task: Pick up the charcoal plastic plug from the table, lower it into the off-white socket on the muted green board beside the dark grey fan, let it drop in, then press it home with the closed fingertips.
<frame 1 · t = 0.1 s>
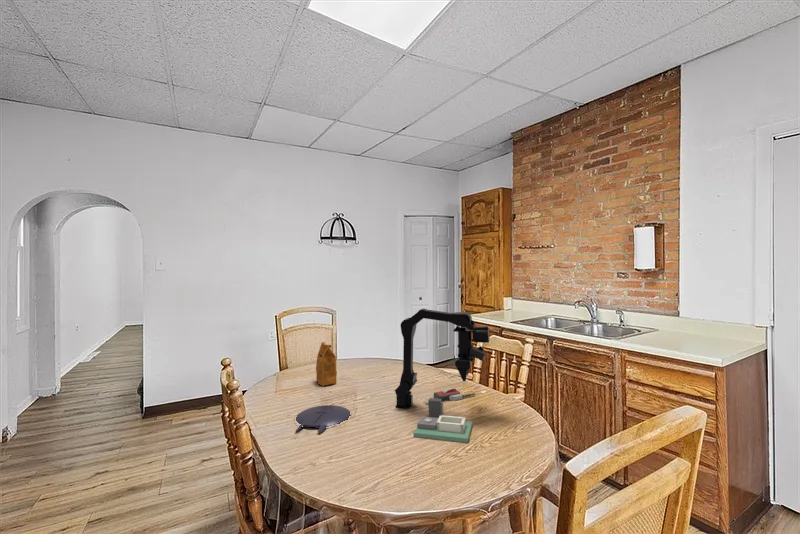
hand: (465, 377, 164), 15 cm above the table, tool pointing down, fingers open, 9 cm apart
toy spaceship: (321, 420, 160), on the table
walkie-talkie: (453, 398, 182), on the table
board: (443, 430, 146), on the table
plug: (435, 416, 160), on the table
coffee package: (326, 383, 209), on the table
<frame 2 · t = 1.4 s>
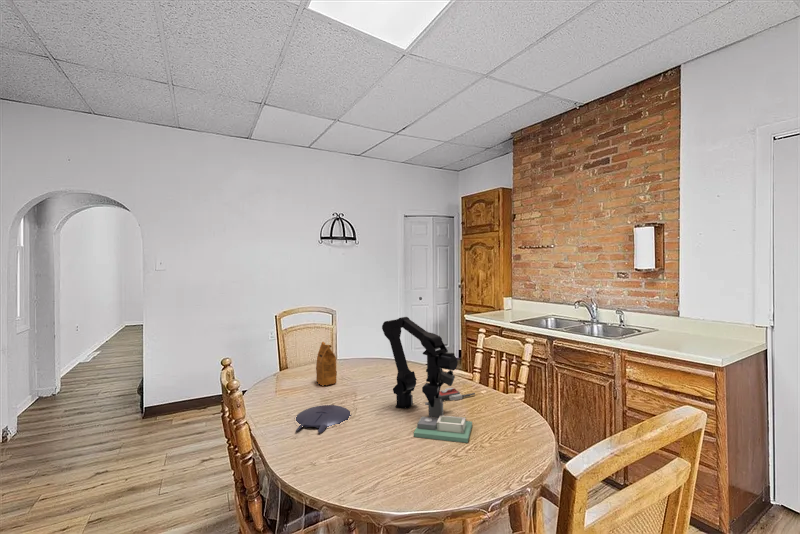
hand: (434, 402, 160), 6 cm above the table, tool pointing down, fingers open, 9 cm apart
nothing on the table moved.
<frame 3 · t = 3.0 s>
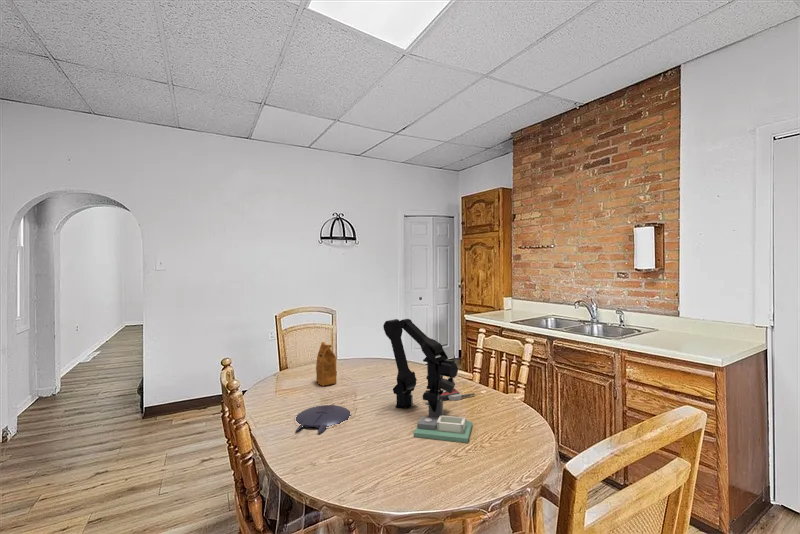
hand: (435, 410, 160), 3 cm above the table, tool pointing down, fingers closed on plug, 3 cm apart
plug: (435, 416, 160), on the table, touching gripper
everything else where it was.
when the fingers open (5 cm above the table, at t = 7.3 s): plug drops 2 cm, resting on board.
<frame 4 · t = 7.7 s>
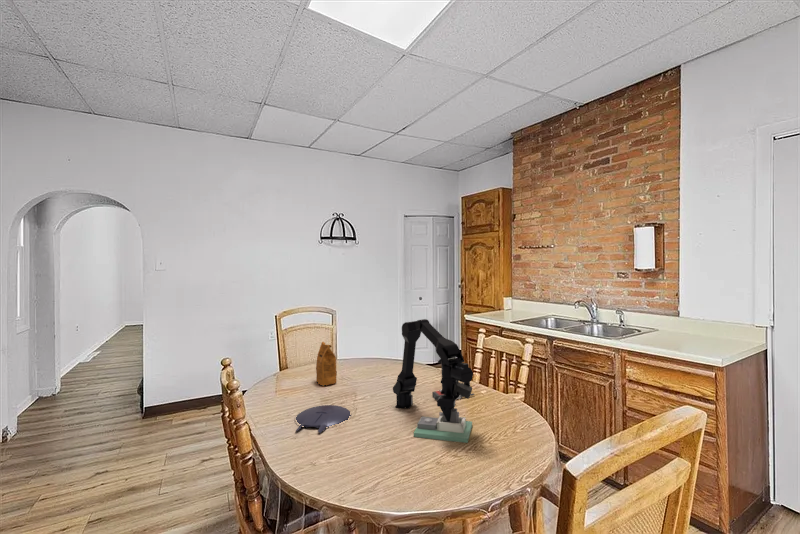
hand: (450, 417, 145), 5 cm above the table, tool pointing down, fingers open, 7 cm apart
plug: (450, 427, 145), point 1 cm above the table, touching board
everything else where it was.
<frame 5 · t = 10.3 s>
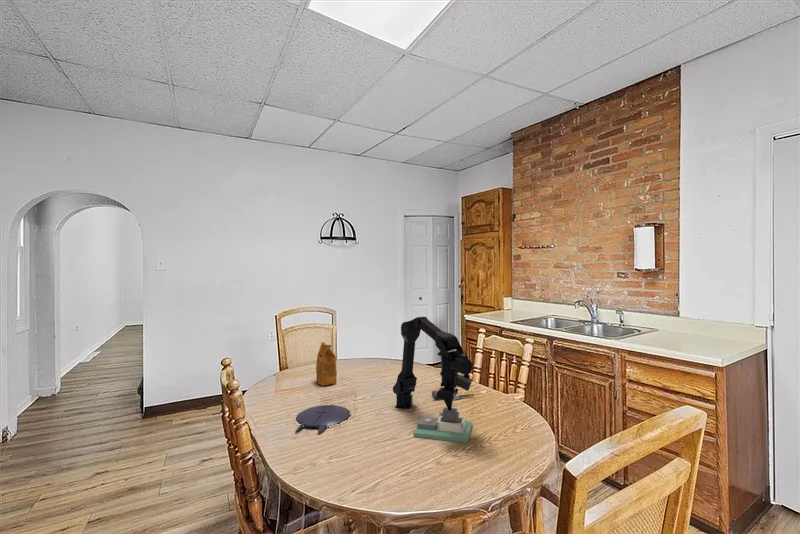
hand: (449, 409, 145), 8 cm above the table, tool pointing down, fingers closed, pressing on plug
plug: (450, 427, 145), point 1 cm above the table, touching board, gripper
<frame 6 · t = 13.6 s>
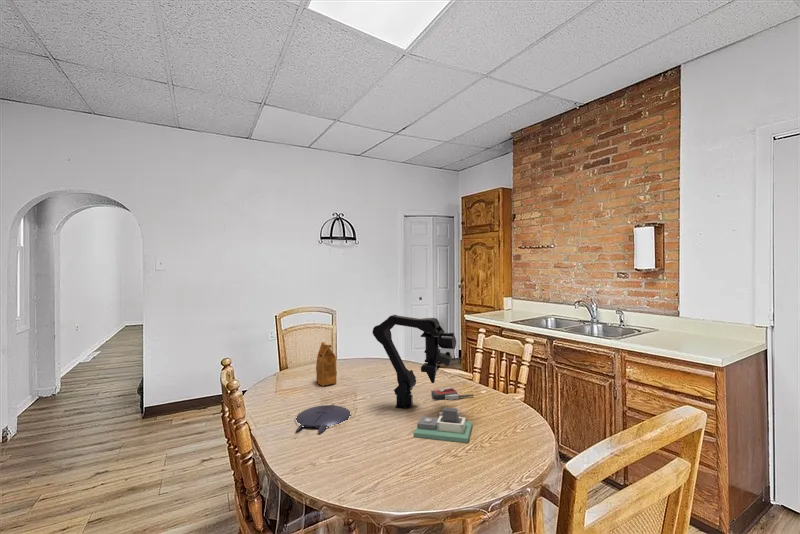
hand: (432, 382, 166), 12 cm above the table, tool pointing down, fingers closed
plug: (450, 427, 145), point 1 cm above the table, touching board
at the end: plug 0.4 cm from the target spot on the board, point 1.5 cm above the board's base; plug tilted 0°; the gripper is holding nothing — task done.
